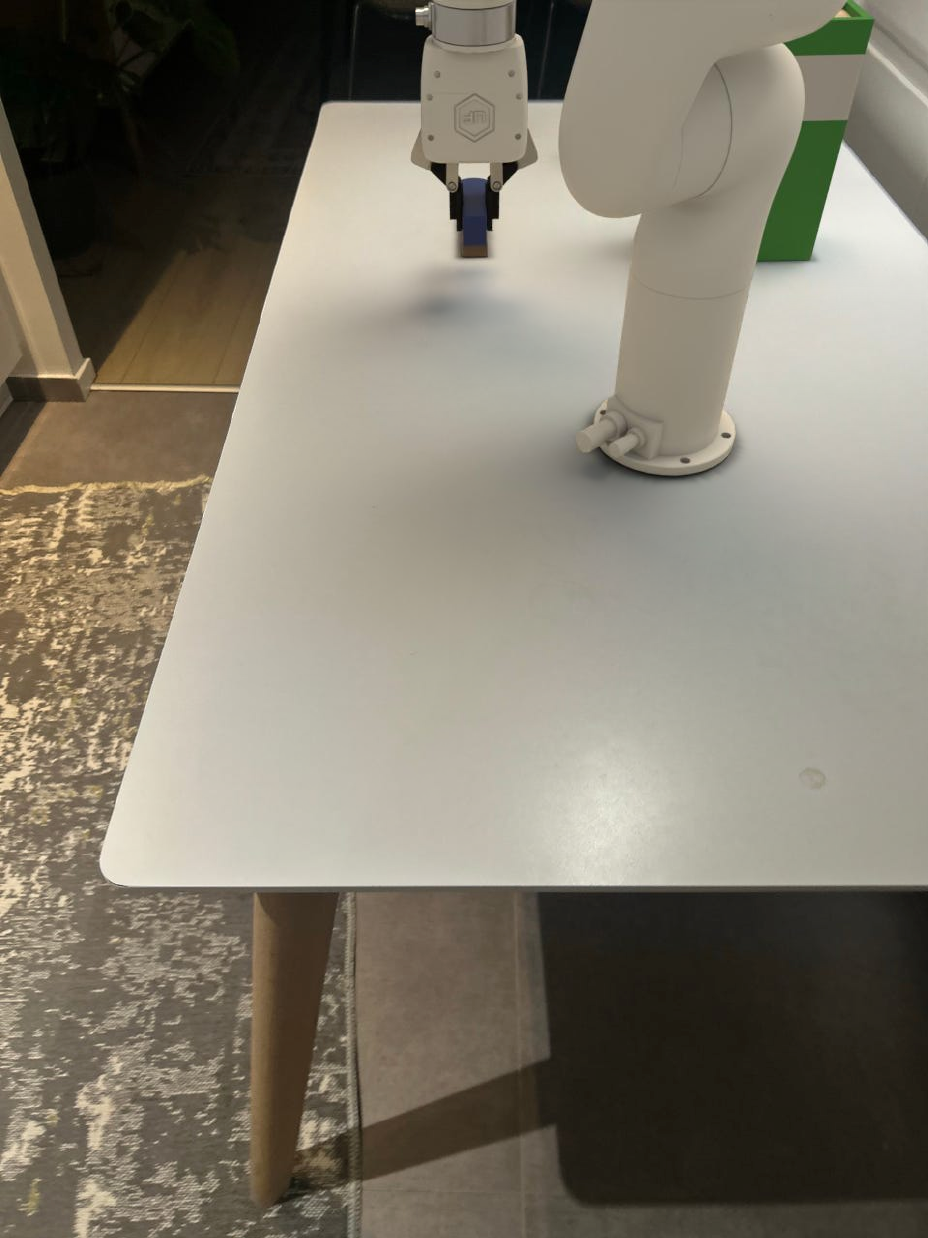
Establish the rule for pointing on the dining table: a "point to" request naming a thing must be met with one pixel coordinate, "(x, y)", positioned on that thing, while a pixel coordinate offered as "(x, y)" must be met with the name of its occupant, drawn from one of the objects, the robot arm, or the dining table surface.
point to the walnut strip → (474, 250)
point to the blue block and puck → (474, 212)
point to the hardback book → (817, 131)
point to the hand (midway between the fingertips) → (474, 223)
